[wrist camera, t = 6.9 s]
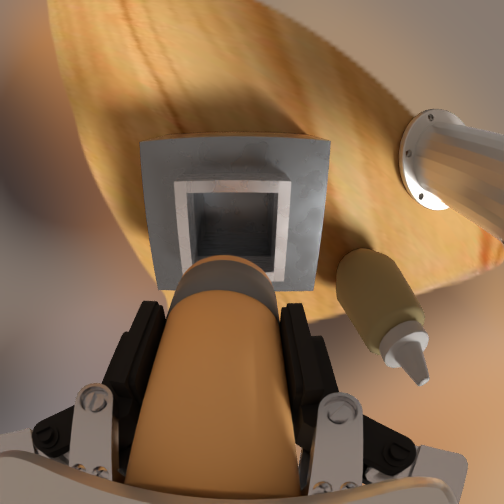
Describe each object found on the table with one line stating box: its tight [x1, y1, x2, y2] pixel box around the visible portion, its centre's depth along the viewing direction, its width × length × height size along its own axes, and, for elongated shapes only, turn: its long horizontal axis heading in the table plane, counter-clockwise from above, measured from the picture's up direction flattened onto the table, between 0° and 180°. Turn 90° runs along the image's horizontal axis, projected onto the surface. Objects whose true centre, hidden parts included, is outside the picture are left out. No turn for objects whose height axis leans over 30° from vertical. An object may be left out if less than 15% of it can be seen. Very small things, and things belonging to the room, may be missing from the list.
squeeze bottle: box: [336, 248, 429, 386], centre depth 25 cm, size 8×8×18 cm
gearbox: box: [140, 132, 331, 291], centre depth 24 cm, size 14×13×10 cm
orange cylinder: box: [124, 255, 301, 500], centre depth 8 cm, size 4×4×9 cm
